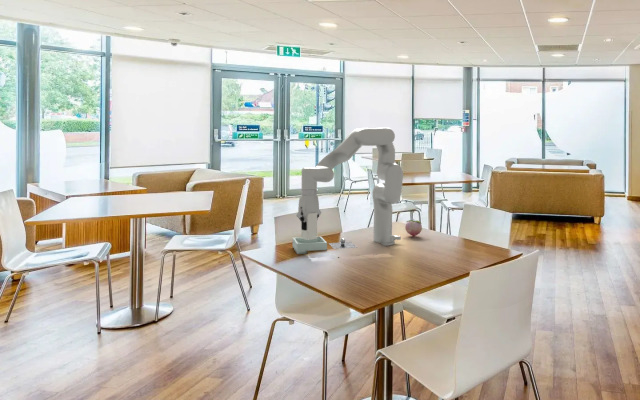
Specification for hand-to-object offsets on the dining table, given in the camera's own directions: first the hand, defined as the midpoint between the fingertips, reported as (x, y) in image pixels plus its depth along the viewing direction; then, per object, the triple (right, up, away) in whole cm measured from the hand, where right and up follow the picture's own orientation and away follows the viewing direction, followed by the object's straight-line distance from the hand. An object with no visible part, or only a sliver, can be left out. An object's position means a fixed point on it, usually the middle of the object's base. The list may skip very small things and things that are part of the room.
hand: (309, 228), depth 247 cm
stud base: (+17, -10, +5) cm, 20 cm away
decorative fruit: (+58, -6, +34) cm, 67 cm away
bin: (0, -11, +2) cm, 11 cm away
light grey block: (0, -5, +1) cm, 5 cm away
